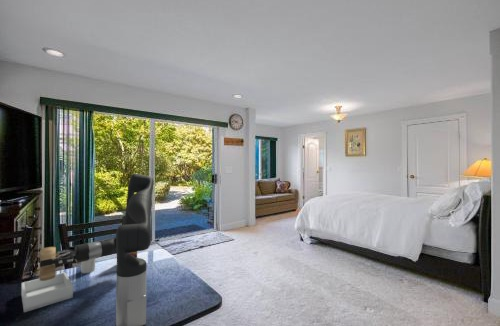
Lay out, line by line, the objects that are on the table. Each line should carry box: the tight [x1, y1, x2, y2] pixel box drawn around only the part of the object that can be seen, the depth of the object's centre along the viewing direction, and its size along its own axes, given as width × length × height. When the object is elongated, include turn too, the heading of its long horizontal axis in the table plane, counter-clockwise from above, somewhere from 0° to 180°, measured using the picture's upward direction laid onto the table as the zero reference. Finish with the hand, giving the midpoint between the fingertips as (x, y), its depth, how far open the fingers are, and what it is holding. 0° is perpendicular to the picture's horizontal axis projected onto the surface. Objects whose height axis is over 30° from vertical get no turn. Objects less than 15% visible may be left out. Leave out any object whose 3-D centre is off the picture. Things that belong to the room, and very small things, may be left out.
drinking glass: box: [80, 259, 96, 274], centre depth 124 cm, size 7×7×10 cm
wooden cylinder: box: [39, 246, 57, 281], centre depth 100 cm, size 5×5×12 cm
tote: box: [20, 271, 74, 313], centre depth 100 cm, size 18×15×5 cm
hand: (39, 262), depth 98 cm, fingers closed on wooden cylinder, 5 cm apart
